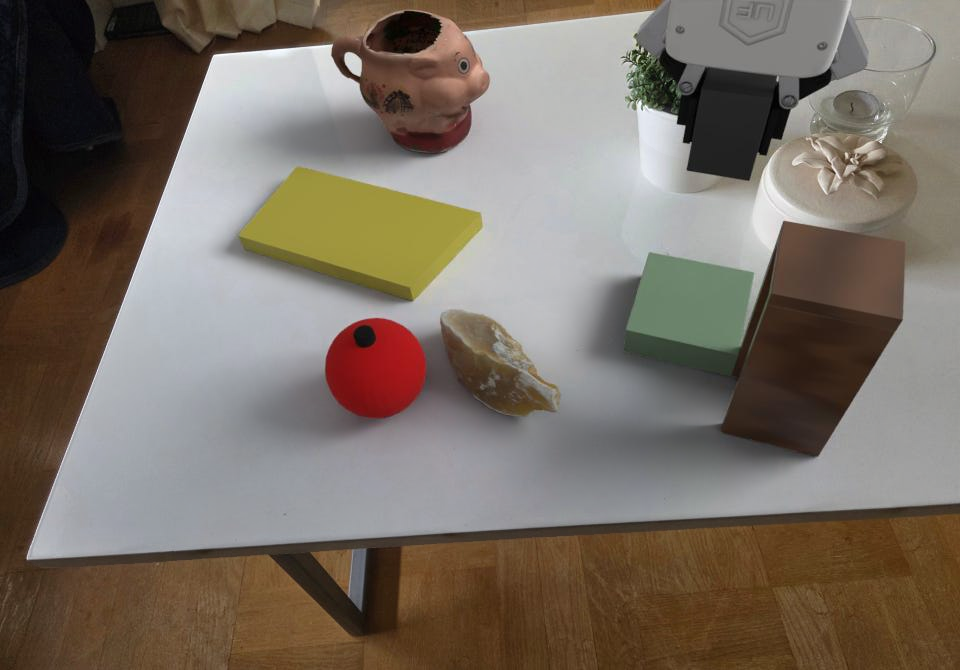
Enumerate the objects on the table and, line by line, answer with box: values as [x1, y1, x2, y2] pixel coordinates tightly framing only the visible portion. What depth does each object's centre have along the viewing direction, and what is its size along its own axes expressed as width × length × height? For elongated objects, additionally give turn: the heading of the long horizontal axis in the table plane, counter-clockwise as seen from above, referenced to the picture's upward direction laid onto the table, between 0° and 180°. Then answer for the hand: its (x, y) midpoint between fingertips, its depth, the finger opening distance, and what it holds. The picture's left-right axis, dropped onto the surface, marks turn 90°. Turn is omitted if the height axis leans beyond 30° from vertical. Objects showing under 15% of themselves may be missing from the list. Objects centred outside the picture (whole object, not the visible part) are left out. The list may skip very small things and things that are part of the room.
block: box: [686, 67, 778, 182], centre depth 52 cm, size 4×4×7 cm
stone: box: [439, 308, 562, 418], centre depth 66 cm, size 7×6×15 cm
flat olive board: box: [237, 165, 483, 302], centre depth 81 cm, size 12×2×24 cm
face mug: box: [330, 9, 491, 154], centre depth 86 cm, size 20×12×14 cm, turn 74°
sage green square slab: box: [622, 251, 755, 378], centre depth 69 cm, size 10×10×4 cm
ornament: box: [324, 317, 427, 420], centre depth 65 cm, size 9×9×10 cm
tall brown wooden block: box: [720, 220, 907, 458], centre depth 57 cm, size 8×7×19 cm
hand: (727, 135), depth 53 cm, fingers closed on block, 4 cm apart
